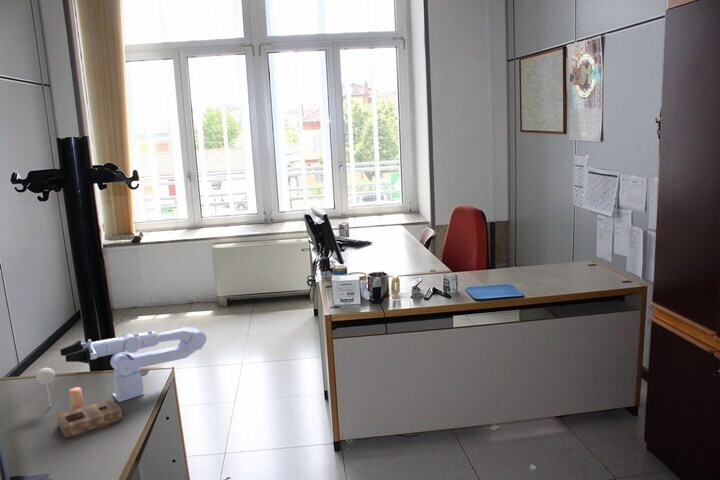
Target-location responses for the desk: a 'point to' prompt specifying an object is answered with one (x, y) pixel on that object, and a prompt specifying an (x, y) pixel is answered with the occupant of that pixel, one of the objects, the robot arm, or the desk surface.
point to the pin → (76, 398)
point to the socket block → (89, 418)
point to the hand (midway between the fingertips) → (63, 355)
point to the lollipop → (46, 378)
